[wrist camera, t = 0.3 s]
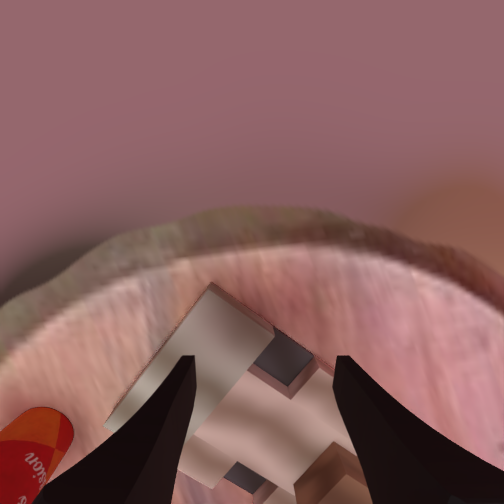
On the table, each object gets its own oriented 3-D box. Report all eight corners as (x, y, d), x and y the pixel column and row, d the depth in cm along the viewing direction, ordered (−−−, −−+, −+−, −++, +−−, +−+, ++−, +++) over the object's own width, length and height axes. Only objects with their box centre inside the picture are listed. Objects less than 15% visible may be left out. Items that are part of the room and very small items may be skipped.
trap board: (317, 529, 28) (322, 553, 26) (113, 408, 25) (102, 426, 23) (416, 428, 26) (430, 446, 25) (211, 281, 23) (208, 289, 21)
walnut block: (339, 512, 26) (352, 553, 23) (293, 484, 25) (299, 521, 22) (380, 471, 25) (398, 507, 22) (333, 441, 24) (346, 473, 21)
